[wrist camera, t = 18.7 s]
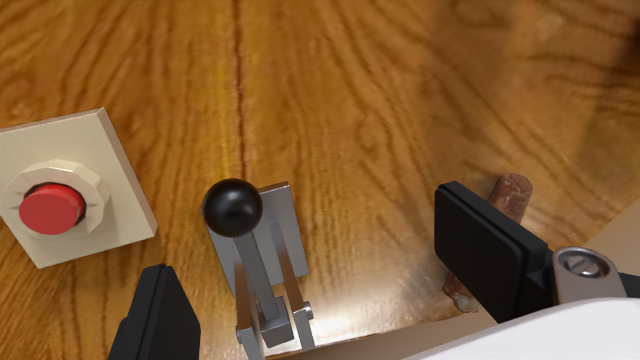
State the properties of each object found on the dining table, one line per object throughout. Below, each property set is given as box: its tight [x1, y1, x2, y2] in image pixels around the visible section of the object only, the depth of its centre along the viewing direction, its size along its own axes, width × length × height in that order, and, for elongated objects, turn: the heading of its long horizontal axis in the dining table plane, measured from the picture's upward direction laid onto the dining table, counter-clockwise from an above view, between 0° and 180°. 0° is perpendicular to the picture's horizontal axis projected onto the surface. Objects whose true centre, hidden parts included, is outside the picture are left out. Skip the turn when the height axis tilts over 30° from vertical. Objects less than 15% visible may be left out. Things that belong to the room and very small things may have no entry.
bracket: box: [201, 181, 315, 360], centre depth 31 cm, size 12×9×14 cm
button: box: [19, 184, 84, 235], centre depth 26 cm, size 4×4×2 cm
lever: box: [202, 178, 294, 348], centre depth 22 cm, size 16×3×3 cm, turn 10°
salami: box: [442, 173, 533, 313], centre depth 44 cm, size 6×19×6 cm, turn 161°
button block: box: [0, 108, 158, 269], centre depth 28 cm, size 12×10×4 cm
